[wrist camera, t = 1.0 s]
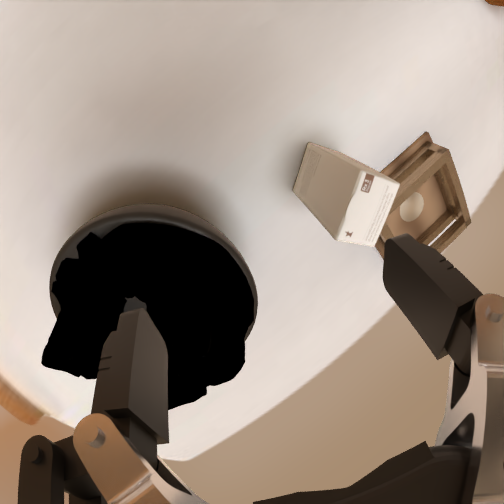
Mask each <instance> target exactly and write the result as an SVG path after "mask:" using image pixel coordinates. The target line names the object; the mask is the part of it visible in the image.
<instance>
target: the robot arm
mask: <svg viewBox="0 0 504 504" xmlns="http://www.w3.org/2000/svg"><path fill="white" fill-rule="evenodd" d="M383 282H384V286H385V288H386V290H387V292H388V293H389V295H390V296H391V297H392V299H393V300H394V301H395V303H396V304H397V305H398V306H399V308H400V309H401V310H402V312H403V313H404V314H405V316H406V317H407V318H408V320H409V321H410V322H411V324H412V325H413V326H414V328H415V329H416V330H417V332H418V333H419V334H420V336H421V337H422V339H423V340H424V341H425V343H426V344H427V346H428V347H429V349H430V350H431V351H432V353H433V354H434V356H435V357H436V359H437V360H438V359H440V358H442V357H444V356H446V355H448V354H449V355H450V356H451V358H452V360H451V362H450V371H449V383H448V394H447V402H446V409H445V415H444V418H443V421H442V423H441V426H440V428H439V431H438V434H437V438H436V442H435V446H433V447H428V445H427V443H426V441H424V442H423V443H421V444H419V445H417V446H415V447H413V448H412V449H409V450H407V451H405V452H403V453H401V454H399V455H397V456H395V457H393V458H391V459H389V460H387V461H386V462H384V463H383V464H382V465H380V466H379V467H378V468H376V469H375V470H374V471H372V472H371V473H369V474H368V475H367V476H365V477H363V478H362V479H361V480H359V481H358V482H356V483H354V484H353V485H351V486H350V487H347V488H342V489H333V490H323V491H309V492H296V493H293V494H289V495H284V496H280V497H276V498H271V499H266V500H261V501H256V502H253V504H504V297H502V296H500V295H497V294H485V295H483V294H482V293H481V292H480V291H479V290H478V289H477V288H476V287H475V286H474V285H473V284H472V283H471V282H470V281H469V280H468V279H467V278H466V277H465V276H464V275H463V274H462V273H461V272H460V271H458V270H457V268H454V266H453V265H452V264H451V263H450V262H449V261H448V260H447V261H446V258H445V257H444V256H442V255H441V254H440V253H439V252H438V251H437V250H436V249H434V248H432V247H429V246H427V245H425V244H423V243H422V244H420V243H419V242H418V241H416V240H415V239H414V238H413V237H412V236H411V235H409V234H407V233H405V234H402V235H398V236H395V237H392V238H389V239H387V240H386V242H385V248H384V265H383ZM166 443H169V429H168V353H167V348H166V345H165V342H164V340H163V338H162V336H161V335H160V333H159V331H158V330H157V328H156V326H155V325H154V323H153V321H152V320H151V318H150V316H149V314H148V313H147V311H146V310H145V309H144V308H139V309H136V310H132V311H128V312H124V313H121V314H120V317H119V322H118V326H117V331H112V332H111V333H110V335H109V337H108V338H107V340H106V341H105V343H104V345H103V350H102V354H101V361H100V364H99V372H98V375H97V380H96V386H95V392H94V398H93V405H92V411H91V414H90V415H88V416H86V417H84V418H83V419H82V420H81V421H80V422H79V423H78V425H77V426H76V428H75V431H74V435H73V436H70V437H68V438H65V439H62V440H60V441H57V442H54V443H53V442H52V441H50V440H49V439H47V438H46V437H44V436H42V435H36V436H33V437H31V438H30V439H29V440H28V441H27V442H26V444H25V445H24V447H23V450H22V454H21V463H20V473H19V487H18V504H64V492H66V493H68V494H69V504H209V503H207V502H206V501H204V500H203V499H201V498H200V497H199V496H198V495H196V494H195V493H194V492H193V491H192V490H191V489H190V488H189V487H188V486H187V485H186V484H185V483H184V482H183V481H182V480H181V479H180V478H179V477H178V476H177V475H176V474H175V473H174V472H173V471H172V470H171V469H170V468H169V466H168V465H166V463H165V462H164V461H163V460H162V459H161V458H160V457H159V456H158V455H157V444H166Z"/></svg>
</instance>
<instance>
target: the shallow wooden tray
mask: <svg viewBox="0 0 504 504" xmlns="http://www.w3.org/2000/svg"><path fill="white" fill-rule="evenodd" d="M433 174H434V176H435V178H436V181H437V183H438V186H439V188H440V191H441V194H442V196H443V199H444V202H445V205H446V208H447V210H446V211H445V212H444V213H443V214H442V215H441V216H440V217H439V218H438V219H437V220H436V221H435V222H434V223H433V224H432V225H431V226H430V227H429V228H428V229H427V230H425V231H424V232H423V233H422V234H421V235H420V236H419V237H418V238H417V239H416V241H418V242H419V243H420V244H422V243H423V244H425V245H428V244H429V243H430V242H431V241H432V240H434V239H435V238H436V237H437V236H438V235H439V234H440V233H441V232H442V231H443V230H444V229H445V228H446V227H447V226H448V225H449V224H450V223H451V222H452V221H453V220H454V219H456V221H455V222H454V223H453V224H452V225H451V226H450V227H449V228H448V229H447V230H446V231H445V232H444V233H443V234H442V235H441V236H440V237H439V238H438V239H437V240H436V241H435V242H434V243H433V244H432V245H431V246H429V247H432V248H434V249H436V250H437V251H438V252H439V253H441V252H442V251H443V250H444V249H445V248H447V247H448V246H449V245H450V244H451V243H452V242H453V241H454V240H455V239H456V238H457V237H458V236H459V235H460V234H461V233H462V231H463V230H464V229H465V228H466V227H467V226H468V225H469V224H470V223H471V219H470V215H469V211H468V208H467V204H466V200H465V197H464V193H463V190H462V187H461V184H460V180H459V177H458V174H457V171H456V168H455V165H454V163H453V160H452V157H451V154H450V152H449V149H447V148H444V147H442V146H439V145H437V144H434V143H432V142H429V141H426V142H425V143H424V144H423V145H422V146H421V147H420V148H418V149H417V150H416V151H415V152H414V153H413V154H412V155H411V156H410V157H409V158H407V159H406V160H405V161H404V162H403V163H402V164H401V165H400V166H398V167H397V168H396V169H395V170H394V171H393V172H392V173H391V174H389V175H388V177H389V178H391V179H393V180H395V181H396V182H398V183H399V184H400V186H399V188H398V191H397V193H396V196H395V199H394V201H393V204H392V206H391V209H390V211H389V213H388V216H389V215H390V214H391V213H392V212H393V211H395V210H396V209H397V208H398V207H399V206H400V205H401V204H402V203H403V202H404V201H406V200H407V199H408V198H409V197H410V196H411V195H412V194H413V193H414V192H415V191H416V190H418V189H419V188H420V187H421V186H422V185H423V184H424V183H425V182H426V181H427V180H428V179H429V178H430V177H431V176H432V175H433ZM388 216H387V217H388ZM392 237H394V235H393V234H392V232H391V230H390V228H389V227H388V225H387V223H386V221H385V223H384V225H383V228H382V230H381V232H380V235H379V237H378V240H379V241H380V243H381V245H382V246H383V248H385V242H386V240H387V239H389V238H392Z"/></svg>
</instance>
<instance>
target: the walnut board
mask: <svg viewBox="0 0 504 504" xmlns="http://www.w3.org/2000/svg"><path fill="white" fill-rule="evenodd" d="M426 141H429V142H432V139H431V137H430V135H429V133H428V132H425V133H424V134H423V135H422V136H421V137H420V138H418V139H417V140H416V141H415V142H414V143H413V144H412V145H411V146H410V147H408V148H407V149H406V150H405V151H404V152H403V153H402V154H401V155H399V156H398V157H397V158H396V159H395V160H394V161H393V162H391V163H390V164H389V165H388V166H387V167H386V168H385V169H384V170H382V171H381V172H380V173H382V174H384V175H386V176H388V175H389V174H391V173H392V172H393V171H394V170H395V169H396V168H397V167H398V166H400V165H401V164H402V163H403V162H404V161H405V160H406V159H407V158H409V157H410V156H411V155H412V154H413V153H414V152H415V151H416V150H417V149H418V148H420V147H421V146H422V145H423V144H424V143H425V142H426ZM432 143H433V142H432ZM446 210H447V208H446V205H445V202H444V199H443V196H442V194H441V191H440V188H439V186H438V183H437V181H436V178H435V176H434V174H433V175H432V176H431V177H430V178H429V179H428V180H427V181H426V182H425V183H424V184H423V185H422V186H421V187H420V188H419V189H418V190H416V191H415V192H414V193H413V194H412V195H411V196H410V197H409V198H408V199H407V200H406V201H404V202H403V203H402V204H401V205H400V206H399V207H398V208H397V209H396V210H395V211H393V212H392V213H391V214H390V215H389V216H388V217H387V218H386V223H387V225H388V227H389V228H390V230H391V232H392V234H393V235H394V237H395V236H398V235H402V234H405V233H407V234H409V235H411V236H412V237H413V238H414V239H415V240H416V239H417V238H418V237H419V236H420V235H421V234H422V233H423V232H424V231H425V230H427V229H428V228H429V227H430V226H431V225H432V224H433V223H434V222H435V221H436V220H437V219H438V218H439V217H440V216H441V215H442V214H443V213H444V212H445V211H446ZM375 247H376V248H377V250H378V251H379V253H380V254H381V256H382V257H383V259H384V248H383V246H382V245H381V243H380V241H379V240H378V239H377V242H376V244H375Z"/></svg>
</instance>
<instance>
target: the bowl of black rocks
mask: <svg viewBox="0 0 504 504" xmlns="http://www.w3.org/2000/svg"><path fill="white" fill-rule="evenodd" d="M49 289H50V299H51V304H52V307H53V310H54V313H55V316H56V318H57V321H56V323H55V326H54V328H53V331H52V333H51V335H50V337H49V340H48V343H47V345H46V346H45V349H44V351H43V355H42V362H41V363H42V365H43V366H45V367H48V368H52V369H55V370H61V371H65V372H68V373H70V374H72V375H74V376H76V377H79V376H83V377H84V378H86V379H96V378H97V375H98V372H99V364H100V361H101V354H102V350H103V345H104V343H105V341H106V340H107V338H108V337H109V335H110V333H111V332H112V331H117V326H118V322H119V317H120V314H121V313H124V312H128V311H132V310H136V309H139V308H144V309H145V310H146V311H147V313H148V314H149V316H150V318H151V320H152V321H153V323H154V325H155V326H156V328H157V330H158V331H159V333H160V335H161V336H162V338H163V340H164V342H165V345H166V348H167V353H168V410H170V409H173V408H175V407H178V406H181V405H184V404H187V403H191V402H195V401H196V400H198V399H199V398H201V397H202V396H205V395H206V394H207V388H206V387H207V386H209V385H211V386H216V385H219V384H222V383H225V382H227V381H230V380H232V379H233V378H234V377H235V376H236V375H237V374H238V372H239V371H240V370H241V368H242V367H243V365H244V363H245V341H246V339H247V337H248V336H249V334H250V332H251V330H252V328H253V325H254V323H255V319H256V315H257V306H258V297H257V290H256V285H255V282H254V279H253V276H252V274H251V272H250V270H249V267H248V265H247V264H246V262H245V260H244V259H243V257H242V255H241V254H240V253H239V251H238V250H237V249H236V247H235V246H234V245H233V244H232V242H231V241H230V240H229V239H228V238H227V237H226V236H225V235H224V234H223V233H221V232H220V231H219V230H218V229H217V228H216V227H214V226H213V225H211V224H210V223H209V222H207V221H205V220H204V219H202V218H200V217H198V216H197V215H194V214H192V213H190V212H188V211H185V210H182V209H179V208H176V207H171V206H167V205H160V204H135V205H129V206H123V207H120V208H116V209H113V210H110V211H108V212H105V213H103V214H101V215H99V216H97V217H95V218H93V219H91V220H90V221H89V222H87V223H86V224H84V225H83V226H82V227H80V228H79V229H78V230H77V231H76V232H75V233H74V234H73V235H72V236H71V237H70V238H69V239H68V240H67V241H66V243H65V244H64V245H63V246H62V248H61V249H60V251H59V253H58V254H57V257H56V259H55V261H54V264H53V267H52V270H51V276H50V287H49Z"/></svg>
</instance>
